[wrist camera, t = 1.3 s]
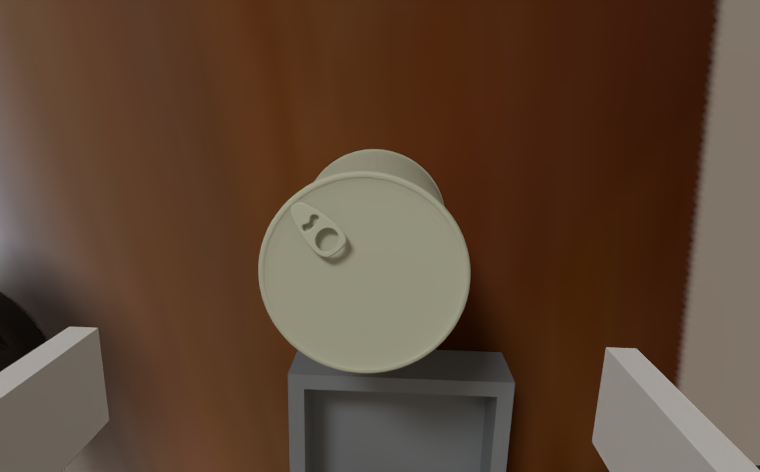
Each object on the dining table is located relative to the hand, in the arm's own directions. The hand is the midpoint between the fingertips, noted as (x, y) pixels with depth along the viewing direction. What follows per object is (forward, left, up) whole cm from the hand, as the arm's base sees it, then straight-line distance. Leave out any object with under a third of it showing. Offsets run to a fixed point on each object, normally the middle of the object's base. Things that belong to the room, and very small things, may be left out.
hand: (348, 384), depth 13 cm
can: (0, 0, -20) cm, 20 cm away
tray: (+2, -16, -20) cm, 26 cm away
